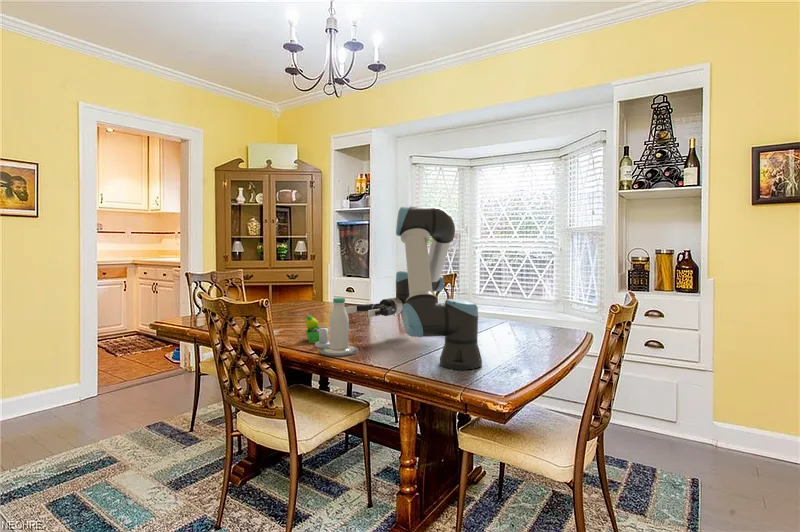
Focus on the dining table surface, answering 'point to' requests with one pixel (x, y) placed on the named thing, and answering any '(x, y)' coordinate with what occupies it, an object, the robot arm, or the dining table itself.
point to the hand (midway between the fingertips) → (356, 312)
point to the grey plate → (338, 351)
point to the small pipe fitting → (322, 338)
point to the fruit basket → (312, 329)
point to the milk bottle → (339, 326)
